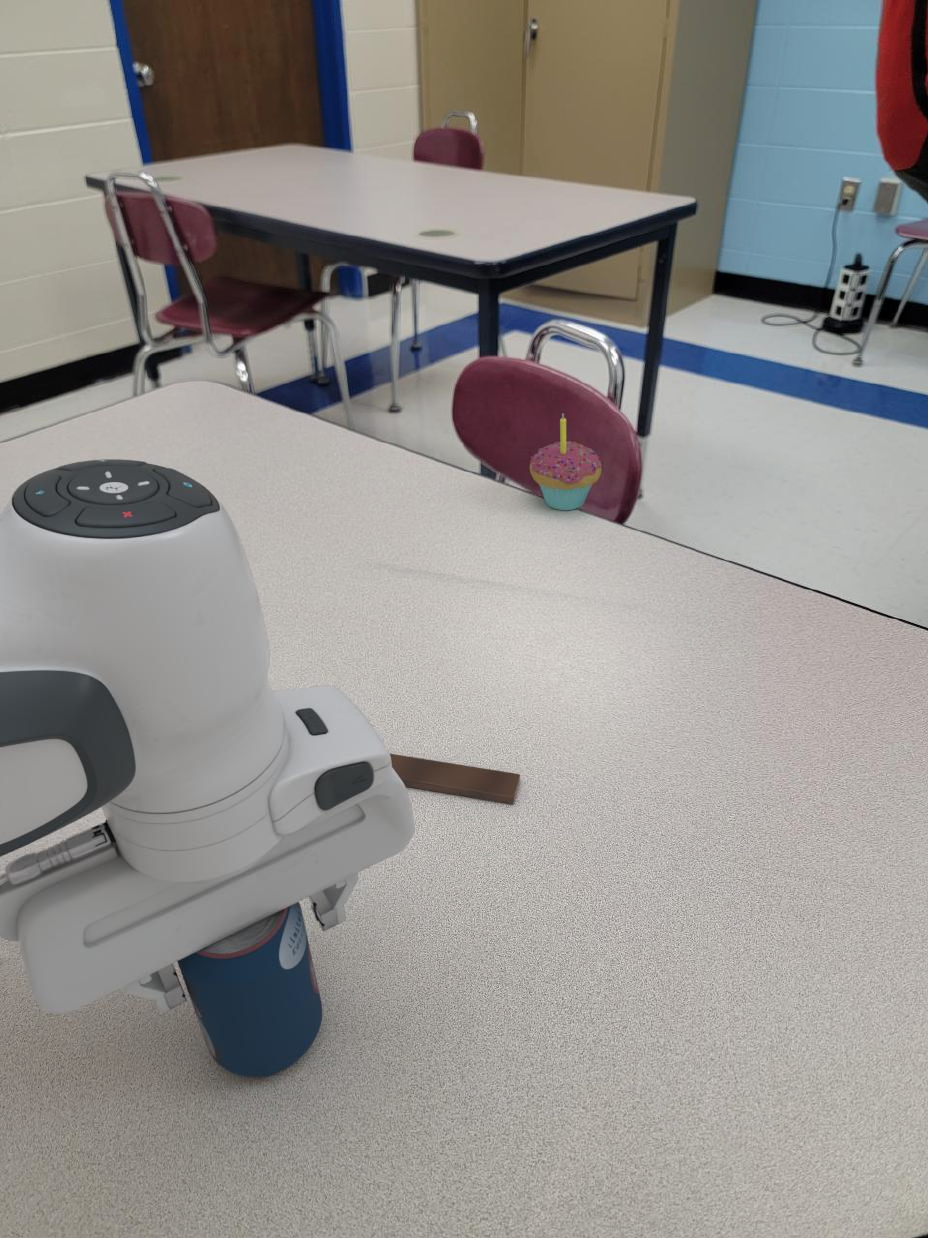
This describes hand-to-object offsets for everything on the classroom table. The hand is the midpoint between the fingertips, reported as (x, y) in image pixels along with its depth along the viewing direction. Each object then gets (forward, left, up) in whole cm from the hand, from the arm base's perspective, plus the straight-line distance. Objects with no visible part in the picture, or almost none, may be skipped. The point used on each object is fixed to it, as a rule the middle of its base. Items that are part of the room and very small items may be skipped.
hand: (253, 957), depth 51 cm
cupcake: (+55, +45, -7) cm, 71 cm away
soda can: (0, 0, -7) cm, 7 cm away
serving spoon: (+12, +20, -7) cm, 24 cm away
